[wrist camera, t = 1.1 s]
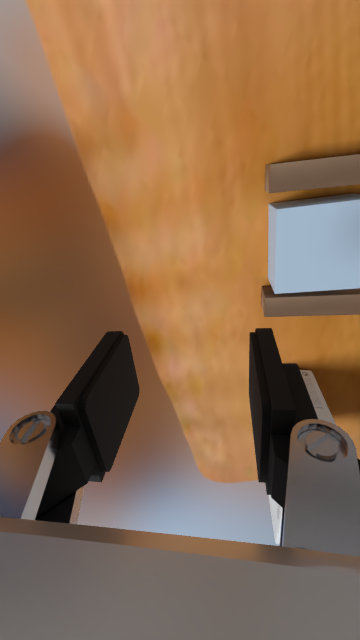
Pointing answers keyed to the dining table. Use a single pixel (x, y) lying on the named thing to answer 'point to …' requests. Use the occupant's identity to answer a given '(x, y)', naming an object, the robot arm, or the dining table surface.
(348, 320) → the dining table surface
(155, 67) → the dining table surface
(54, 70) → the dining table surface
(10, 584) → the robot arm
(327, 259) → the block
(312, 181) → the brown parallel rails
